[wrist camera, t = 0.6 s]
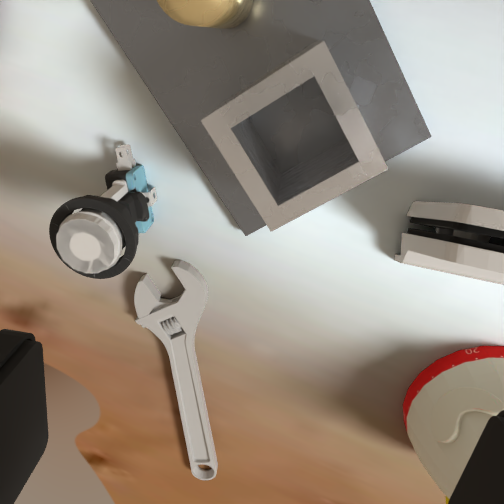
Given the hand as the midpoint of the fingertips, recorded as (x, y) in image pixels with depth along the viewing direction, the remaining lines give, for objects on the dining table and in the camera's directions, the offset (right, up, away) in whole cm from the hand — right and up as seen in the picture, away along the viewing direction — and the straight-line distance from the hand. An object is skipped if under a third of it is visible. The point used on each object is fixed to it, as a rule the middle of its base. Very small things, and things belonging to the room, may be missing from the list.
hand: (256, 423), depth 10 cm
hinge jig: (+1, +16, +22) cm, 27 cm away
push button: (-9, +9, +26) cm, 29 cm away
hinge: (+20, +5, +25) cm, 33 cm away
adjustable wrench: (-7, -8, +34) cm, 36 cm away
